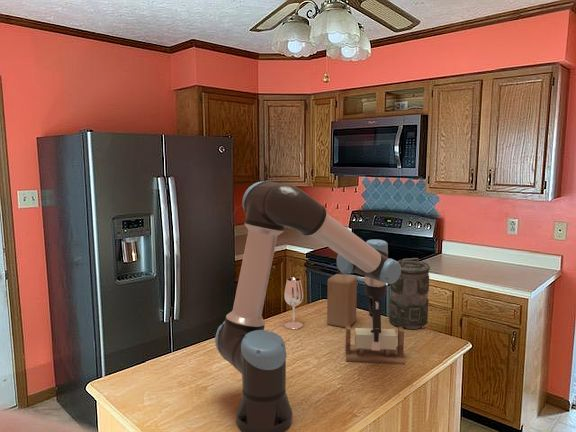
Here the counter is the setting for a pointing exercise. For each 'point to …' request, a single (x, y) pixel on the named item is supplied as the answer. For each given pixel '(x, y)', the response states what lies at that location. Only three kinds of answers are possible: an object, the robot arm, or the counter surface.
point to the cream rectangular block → (365, 338)
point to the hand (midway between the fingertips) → (373, 341)
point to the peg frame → (375, 351)
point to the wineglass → (293, 299)
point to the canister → (410, 295)
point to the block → (341, 300)
